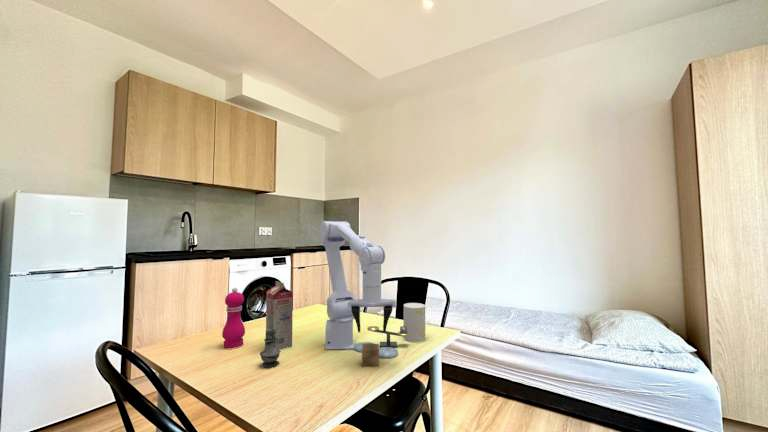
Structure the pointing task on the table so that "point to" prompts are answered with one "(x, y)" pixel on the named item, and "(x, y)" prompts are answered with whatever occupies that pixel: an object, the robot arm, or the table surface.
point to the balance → (402, 333)
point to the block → (370, 355)
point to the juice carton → (280, 314)
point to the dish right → (387, 352)
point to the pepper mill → (233, 320)
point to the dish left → (360, 346)
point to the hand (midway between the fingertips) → (371, 331)
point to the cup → (414, 321)
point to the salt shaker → (270, 349)
